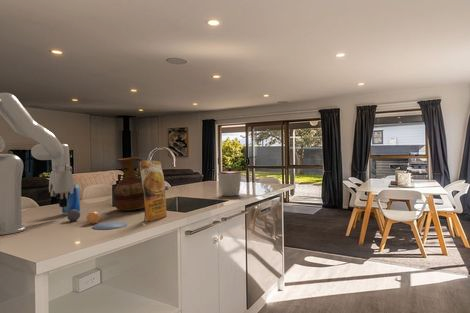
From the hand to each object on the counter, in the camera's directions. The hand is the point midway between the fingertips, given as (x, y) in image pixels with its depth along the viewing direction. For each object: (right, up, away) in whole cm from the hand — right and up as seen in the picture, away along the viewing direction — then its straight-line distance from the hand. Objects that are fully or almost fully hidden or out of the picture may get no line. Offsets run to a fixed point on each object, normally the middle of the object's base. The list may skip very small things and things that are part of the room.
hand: (63, 206), depth 146 cm
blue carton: (-3, -6, +13) cm, 15 cm away
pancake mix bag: (+46, -5, -3) cm, 46 cm away
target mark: (+30, -5, -17) cm, 35 cm away
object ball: (+20, -3, -12) cm, 24 cm away
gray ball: (+8, -3, -5) cm, 10 cm away
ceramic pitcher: (+26, -6, +23) cm, 36 cm away
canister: (+81, -5, +76) cm, 111 cm away
